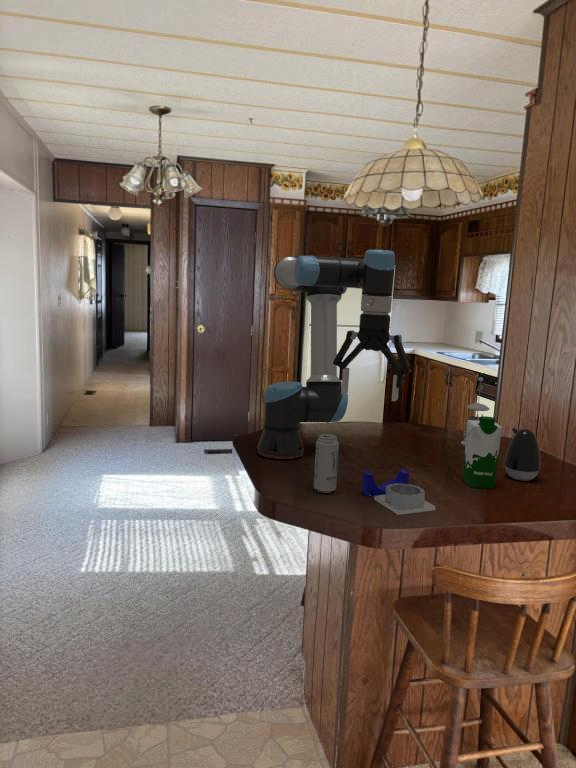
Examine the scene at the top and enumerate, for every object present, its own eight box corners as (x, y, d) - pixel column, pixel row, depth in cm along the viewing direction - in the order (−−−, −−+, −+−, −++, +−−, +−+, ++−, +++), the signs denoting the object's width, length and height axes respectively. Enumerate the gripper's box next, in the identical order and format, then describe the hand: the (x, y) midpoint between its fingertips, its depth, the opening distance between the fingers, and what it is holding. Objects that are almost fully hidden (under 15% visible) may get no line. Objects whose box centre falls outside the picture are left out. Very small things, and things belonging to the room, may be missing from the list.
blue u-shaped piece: (399, 489, 159) (401, 468, 158) (407, 494, 155) (409, 473, 154) (359, 491, 155) (360, 470, 154) (366, 497, 151) (367, 475, 150)
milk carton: (467, 488, 161) (474, 418, 158) (458, 478, 170) (465, 412, 167) (498, 490, 161) (506, 420, 158) (488, 479, 170) (495, 413, 167)
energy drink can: (330, 496, 150) (334, 440, 147) (309, 491, 152) (312, 436, 150) (339, 489, 155) (342, 435, 153) (318, 485, 158) (321, 432, 155)
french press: (485, 441, 216) (492, 376, 213) (492, 449, 205) (499, 380, 201) (458, 439, 218) (464, 374, 214) (463, 447, 206) (470, 378, 202)
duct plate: (374, 499, 149) (375, 484, 148) (409, 495, 153) (410, 480, 153) (398, 514, 139) (399, 499, 138) (435, 510, 143) (436, 494, 143)
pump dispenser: (520, 471, 180) (526, 424, 178) (546, 482, 170) (552, 432, 168) (494, 474, 176) (499, 425, 174) (519, 484, 167) (525, 433, 164)
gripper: (323, 310, 146) (318, 392, 150) (420, 317, 135) (412, 406, 138) (335, 309, 153) (330, 388, 156) (428, 316, 141) (421, 401, 145)
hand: (369, 396), depth 147 cm, fingers open, 13 cm apart
